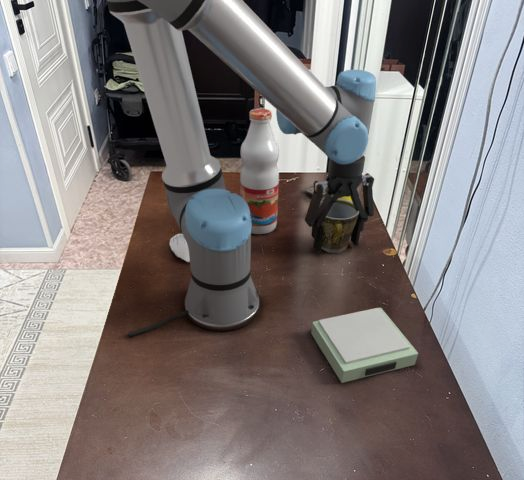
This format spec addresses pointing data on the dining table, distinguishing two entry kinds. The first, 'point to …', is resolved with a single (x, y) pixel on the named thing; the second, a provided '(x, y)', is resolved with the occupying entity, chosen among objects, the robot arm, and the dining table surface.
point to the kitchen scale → (363, 344)
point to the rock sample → (311, 189)
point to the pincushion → (180, 247)
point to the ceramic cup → (338, 226)
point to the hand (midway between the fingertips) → (335, 246)
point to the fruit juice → (260, 172)
